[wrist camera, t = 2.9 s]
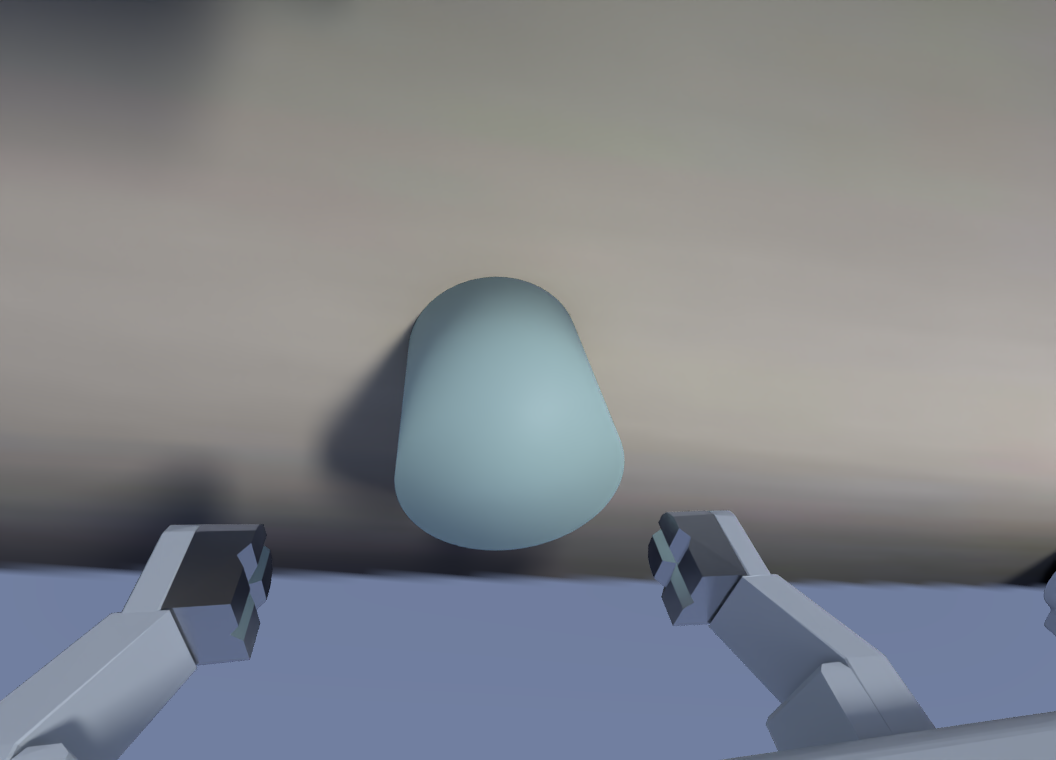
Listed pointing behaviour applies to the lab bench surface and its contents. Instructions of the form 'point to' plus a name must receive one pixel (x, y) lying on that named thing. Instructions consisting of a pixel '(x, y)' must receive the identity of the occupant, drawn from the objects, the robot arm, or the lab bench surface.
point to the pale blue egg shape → (502, 420)
